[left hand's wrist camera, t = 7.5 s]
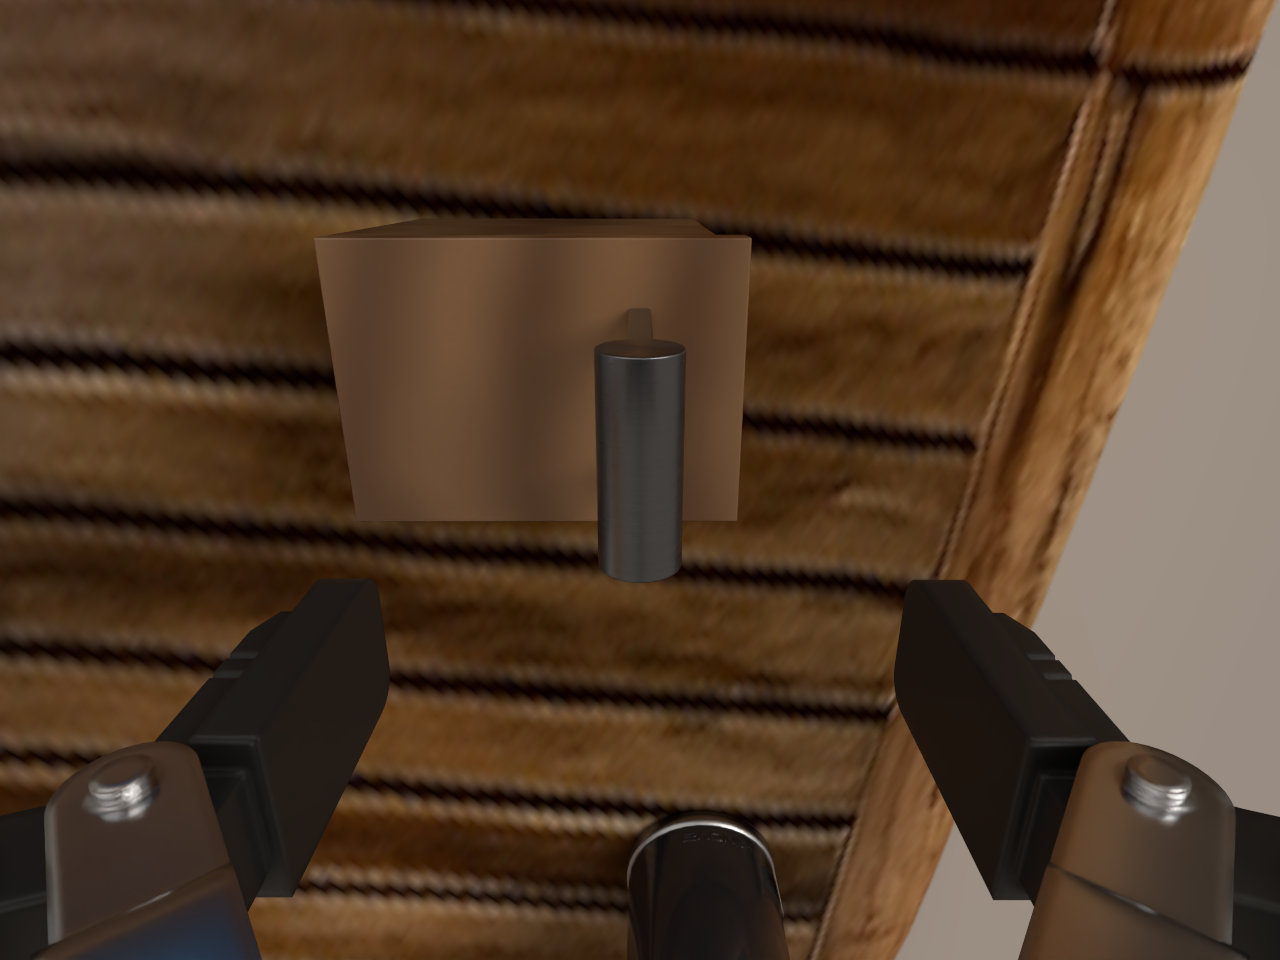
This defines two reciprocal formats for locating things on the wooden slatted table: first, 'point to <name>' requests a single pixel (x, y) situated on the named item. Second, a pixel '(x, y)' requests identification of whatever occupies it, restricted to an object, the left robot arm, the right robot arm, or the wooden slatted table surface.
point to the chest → (538, 227)
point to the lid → (543, 381)
